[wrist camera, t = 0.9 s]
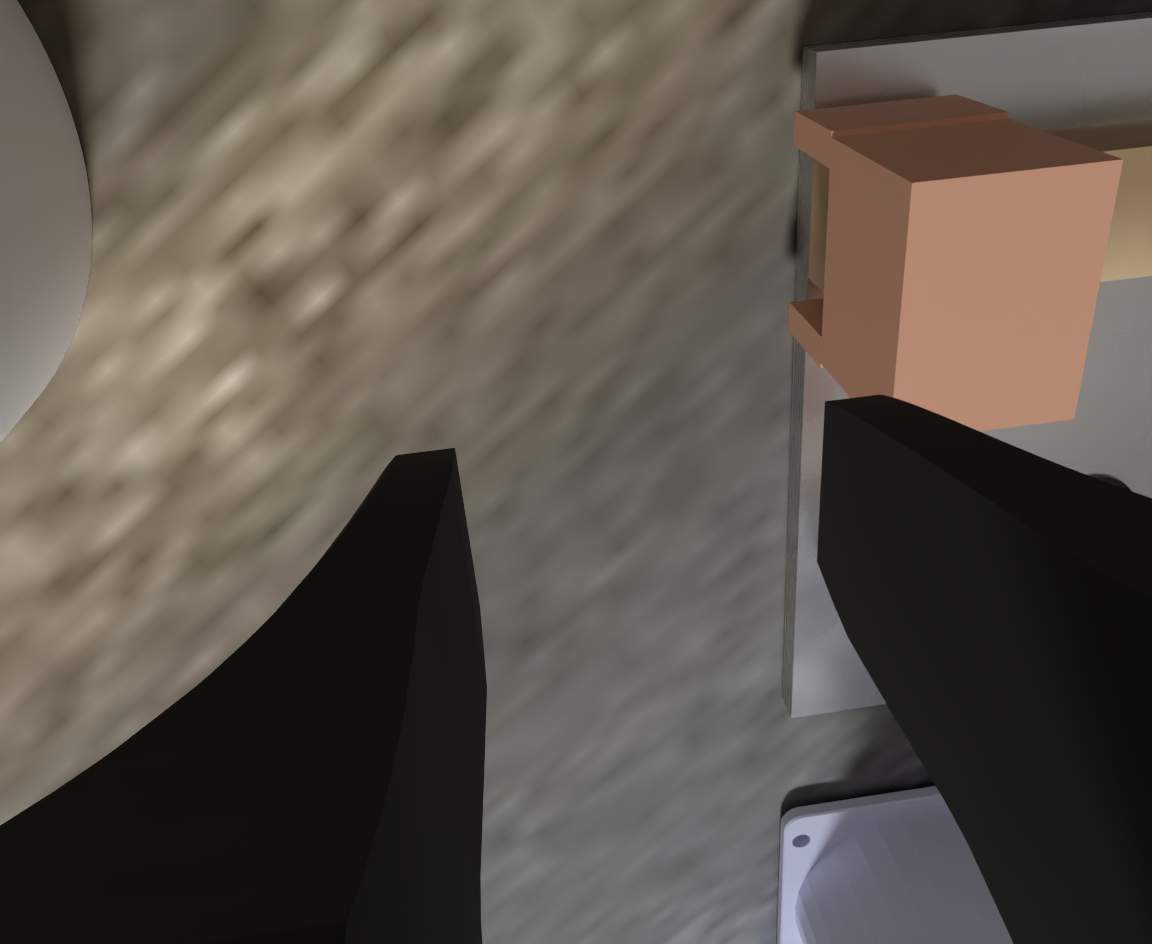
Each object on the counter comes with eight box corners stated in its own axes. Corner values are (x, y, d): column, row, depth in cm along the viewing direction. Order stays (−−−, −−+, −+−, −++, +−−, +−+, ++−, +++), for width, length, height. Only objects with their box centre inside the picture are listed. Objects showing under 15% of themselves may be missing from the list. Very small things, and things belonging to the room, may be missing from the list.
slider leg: (906, 567, 23) (1016, 721, 19) (781, 585, 23) (862, 744, 19) (956, 94, 18) (1124, 151, 14) (795, 110, 18) (913, 175, 13)
